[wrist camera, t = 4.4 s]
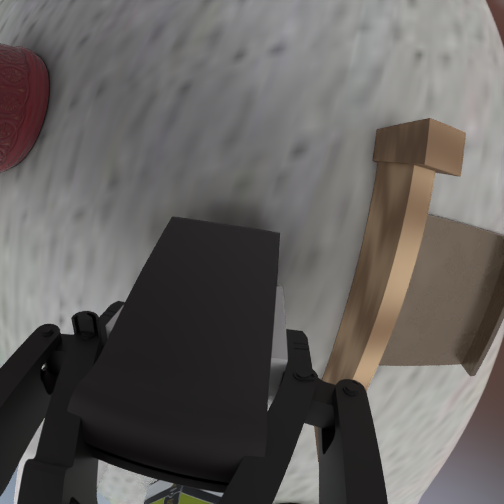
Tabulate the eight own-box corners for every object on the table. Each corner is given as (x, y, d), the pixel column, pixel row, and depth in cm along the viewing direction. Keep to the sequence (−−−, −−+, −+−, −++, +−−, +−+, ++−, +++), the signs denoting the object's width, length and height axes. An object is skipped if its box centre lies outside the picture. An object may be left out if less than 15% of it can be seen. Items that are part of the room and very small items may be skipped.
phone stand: (174, 214, 16) (26, 331, 5) (280, 231, 16) (297, 401, 5) (168, 343, 19) (99, 491, 8) (254, 359, 19) (238, 527, 8)
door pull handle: (376, 129, 19) (429, 118, 11) (405, 137, 19) (465, 132, 11) (310, 397, 27) (318, 462, 19) (333, 399, 27) (345, 461, 19)
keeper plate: (397, 206, 21) (414, 214, 18) (509, 237, 20) (528, 246, 17) (352, 359, 25) (360, 380, 22) (462, 359, 25) (474, 375, 22)
